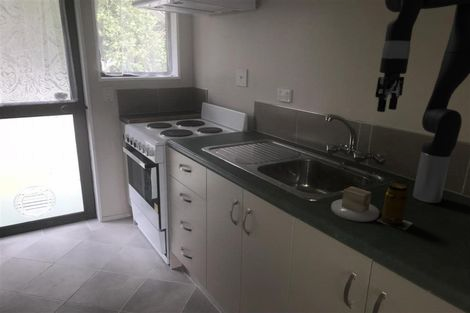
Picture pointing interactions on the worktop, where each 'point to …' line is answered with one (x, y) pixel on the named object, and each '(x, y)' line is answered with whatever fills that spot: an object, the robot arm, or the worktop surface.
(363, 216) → the dish
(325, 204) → the worktop surface
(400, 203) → the condiment
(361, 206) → the block
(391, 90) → the robot arm
